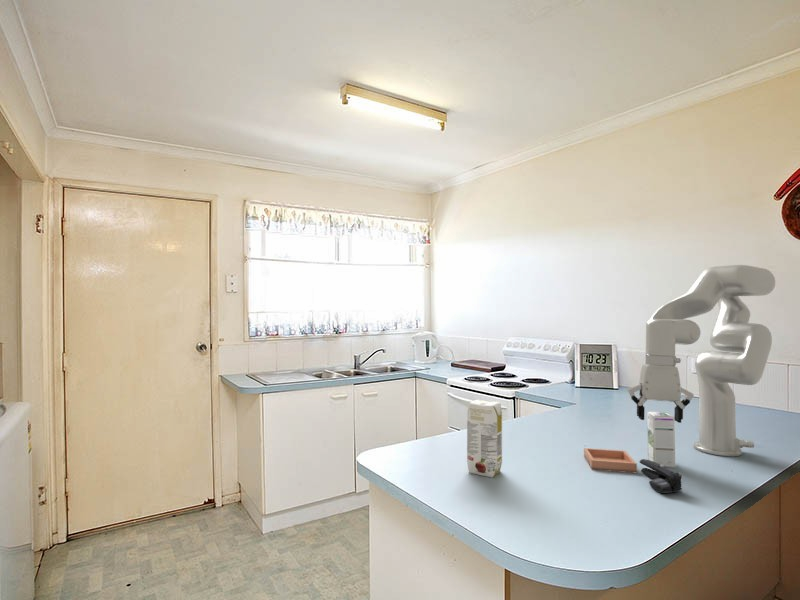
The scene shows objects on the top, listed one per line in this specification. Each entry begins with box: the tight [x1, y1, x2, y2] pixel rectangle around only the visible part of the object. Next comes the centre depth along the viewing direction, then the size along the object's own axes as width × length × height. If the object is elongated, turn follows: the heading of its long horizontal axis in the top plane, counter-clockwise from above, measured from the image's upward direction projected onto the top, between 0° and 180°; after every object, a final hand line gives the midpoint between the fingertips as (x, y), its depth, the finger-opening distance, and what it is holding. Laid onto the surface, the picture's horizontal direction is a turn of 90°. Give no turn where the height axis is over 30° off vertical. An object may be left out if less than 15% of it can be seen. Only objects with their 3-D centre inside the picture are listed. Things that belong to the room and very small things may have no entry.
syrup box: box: [646, 411, 676, 468], centre depth 131 cm, size 6×6×14 cm
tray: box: [583, 447, 638, 473], centre depth 131 cm, size 12×12×2 cm
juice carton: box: [466, 399, 503, 478], centre depth 124 cm, size 8×9×19 cm
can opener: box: [639, 458, 683, 494], centre depth 117 cm, size 18×7×6 cm, turn 173°
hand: (659, 420), depth 131 cm, fingers open, 9 cm apart
